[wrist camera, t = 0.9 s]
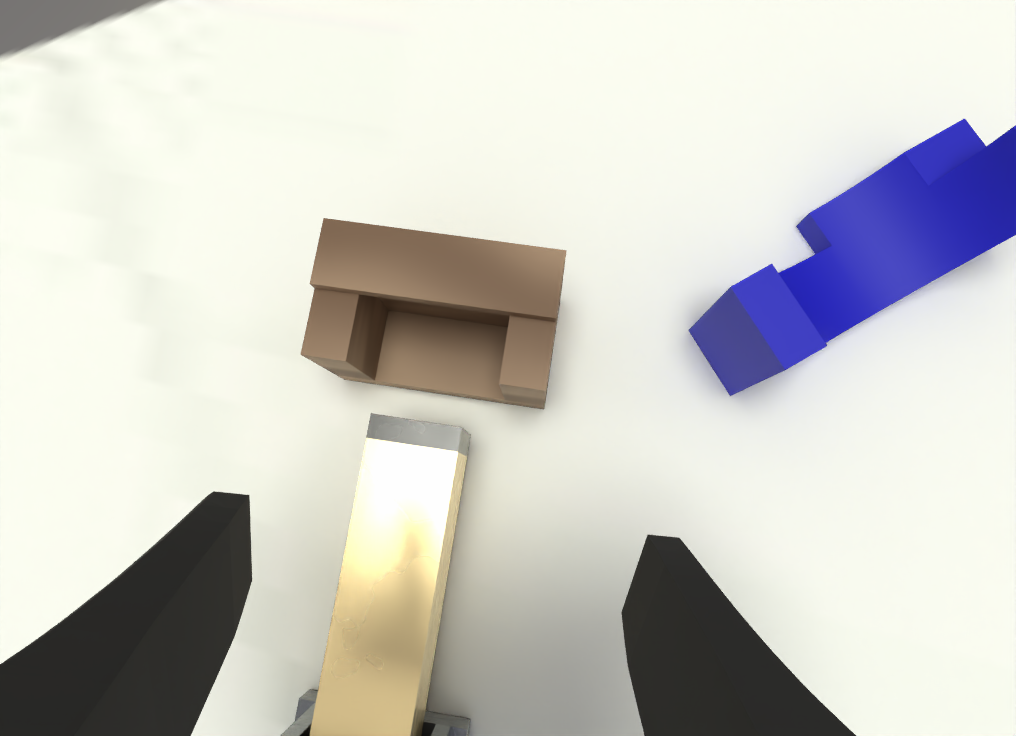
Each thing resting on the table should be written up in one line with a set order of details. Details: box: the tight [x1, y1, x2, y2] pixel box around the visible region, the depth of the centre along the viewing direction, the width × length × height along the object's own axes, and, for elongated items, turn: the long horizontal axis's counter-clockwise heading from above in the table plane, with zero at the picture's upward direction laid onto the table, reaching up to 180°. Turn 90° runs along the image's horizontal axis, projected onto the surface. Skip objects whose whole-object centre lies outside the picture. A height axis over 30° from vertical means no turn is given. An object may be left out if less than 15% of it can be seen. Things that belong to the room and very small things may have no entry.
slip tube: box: [309, 414, 471, 736], centre depth 22 cm, size 14×3×3 cm, turn 171°
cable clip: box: [689, 119, 1016, 396], centre depth 24 cm, size 12×4×6 cm, turn 119°
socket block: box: [301, 218, 566, 409], centre depth 24 cm, size 4×8×6 cm, turn 81°
